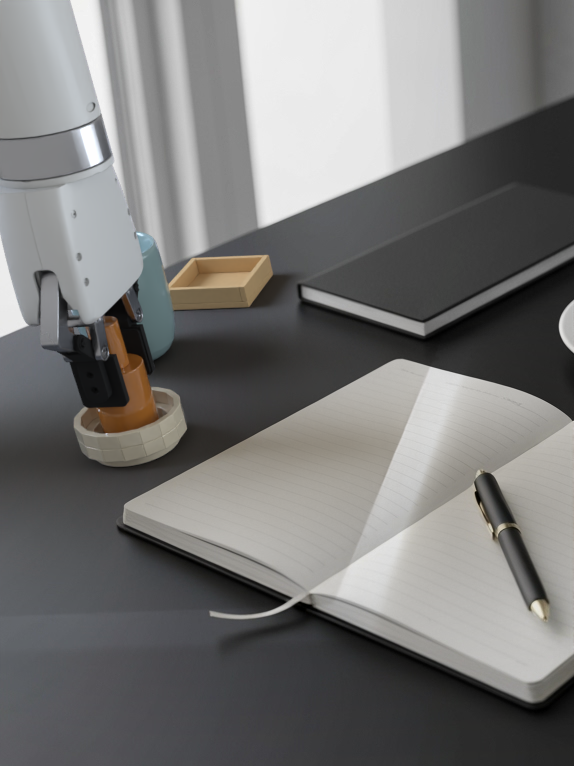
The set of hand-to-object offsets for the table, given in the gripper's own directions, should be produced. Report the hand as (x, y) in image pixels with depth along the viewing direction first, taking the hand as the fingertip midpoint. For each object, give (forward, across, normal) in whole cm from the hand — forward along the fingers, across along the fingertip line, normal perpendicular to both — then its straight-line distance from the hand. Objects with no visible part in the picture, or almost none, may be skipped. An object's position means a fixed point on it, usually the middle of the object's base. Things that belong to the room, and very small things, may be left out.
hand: (120, 387), depth 94 cm
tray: (+5, -28, -3) cm, 29 cm away
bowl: (+5, 0, 0) cm, 5 cm away
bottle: (+4, 0, 0) cm, 4 cm away
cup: (+5, -15, -6) cm, 17 cm away
